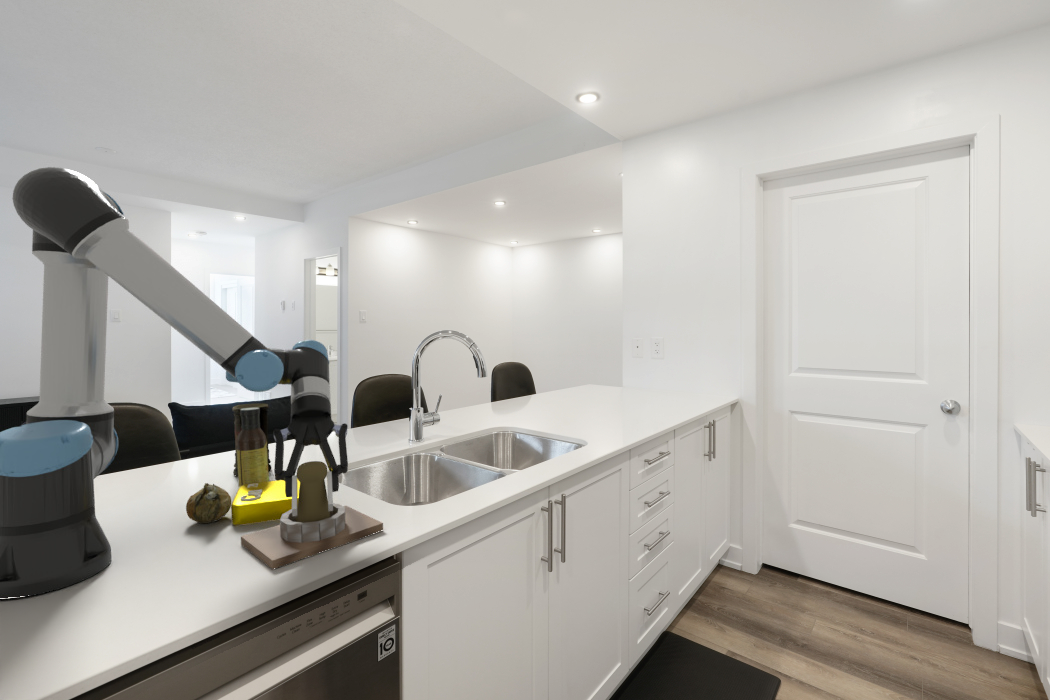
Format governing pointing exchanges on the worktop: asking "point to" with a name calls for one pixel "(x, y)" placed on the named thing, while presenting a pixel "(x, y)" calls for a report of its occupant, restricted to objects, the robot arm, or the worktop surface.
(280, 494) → the element tile
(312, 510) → the cork
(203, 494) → the onion
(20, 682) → the worktop surface
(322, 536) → the ring stand
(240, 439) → the sauce bottle
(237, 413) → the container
